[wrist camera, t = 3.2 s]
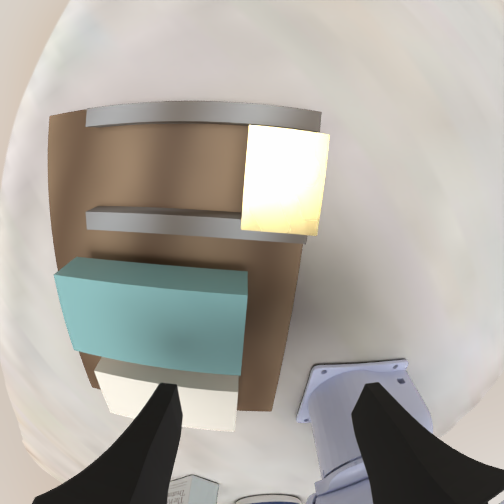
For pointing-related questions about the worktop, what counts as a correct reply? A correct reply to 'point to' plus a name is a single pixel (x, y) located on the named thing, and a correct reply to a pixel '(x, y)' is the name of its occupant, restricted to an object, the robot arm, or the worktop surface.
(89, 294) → the teal button
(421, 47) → the worktop surface
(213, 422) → the white rectangular block
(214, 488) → the skincare box
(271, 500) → the supplement tub
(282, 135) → the brass slider
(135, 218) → the panel
